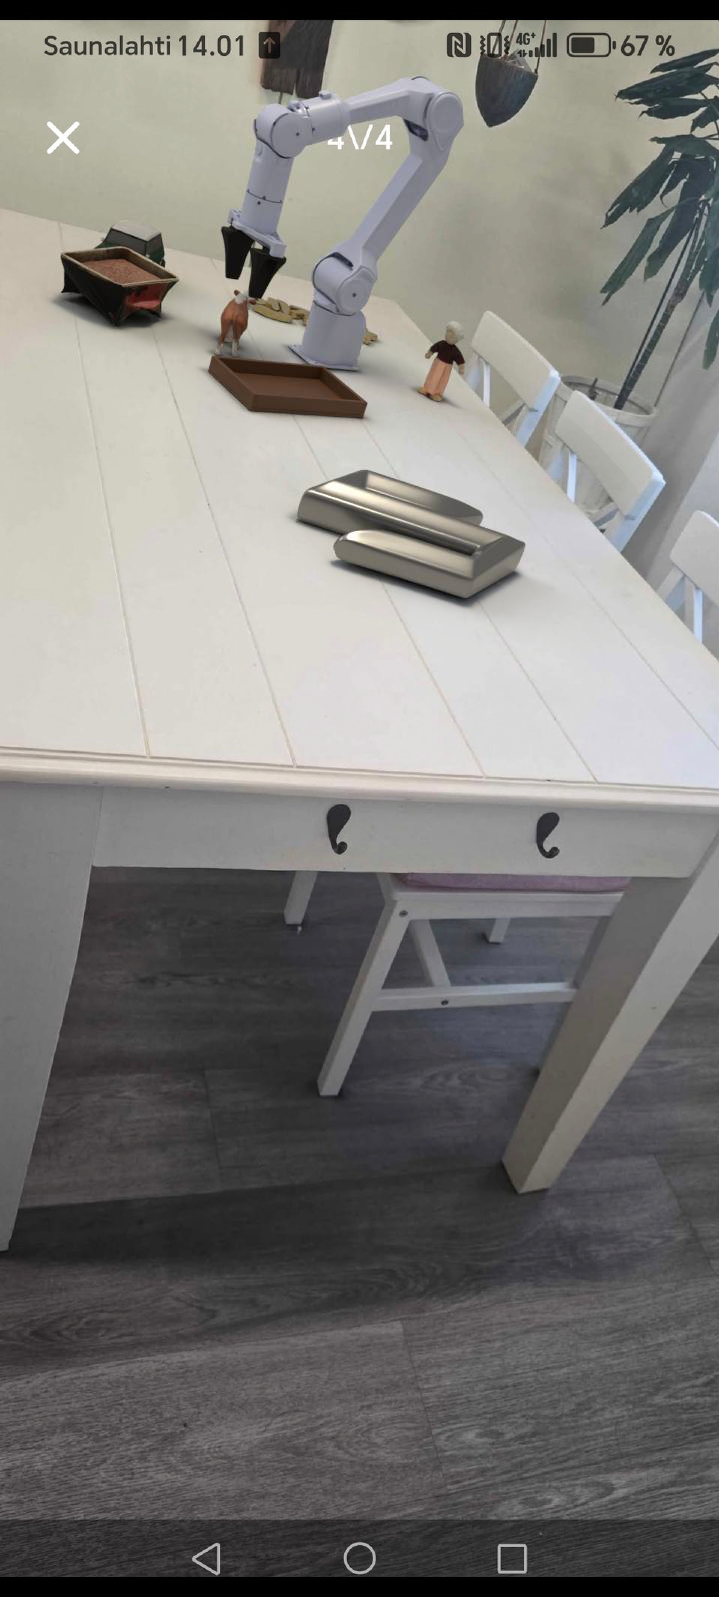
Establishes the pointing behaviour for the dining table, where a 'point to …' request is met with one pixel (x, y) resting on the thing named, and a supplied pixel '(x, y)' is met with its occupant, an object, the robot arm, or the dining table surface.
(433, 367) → the grandmother figurine
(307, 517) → the emblem
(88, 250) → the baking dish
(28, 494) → the dining table surface
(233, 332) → the bull figurine
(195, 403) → the dining table surface
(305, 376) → the walnut tray
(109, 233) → the miniature car
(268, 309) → the lettering
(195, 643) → the dining table surface
